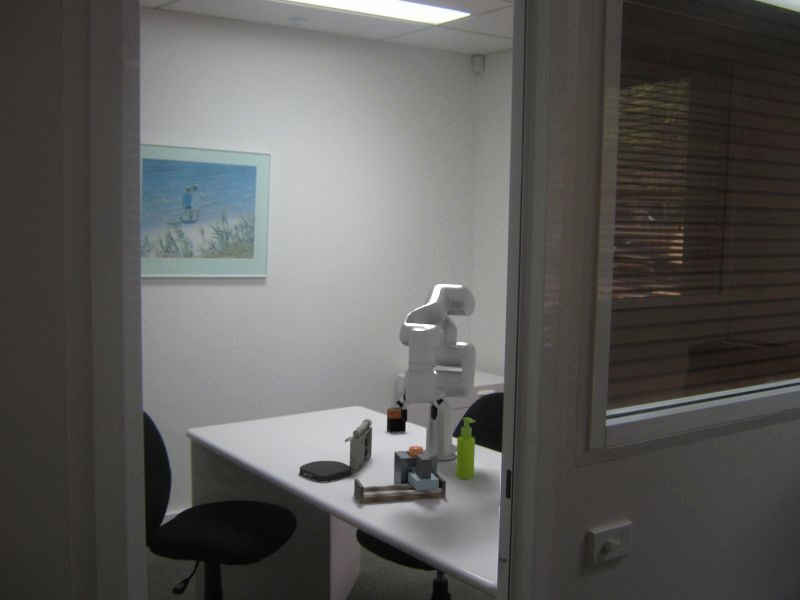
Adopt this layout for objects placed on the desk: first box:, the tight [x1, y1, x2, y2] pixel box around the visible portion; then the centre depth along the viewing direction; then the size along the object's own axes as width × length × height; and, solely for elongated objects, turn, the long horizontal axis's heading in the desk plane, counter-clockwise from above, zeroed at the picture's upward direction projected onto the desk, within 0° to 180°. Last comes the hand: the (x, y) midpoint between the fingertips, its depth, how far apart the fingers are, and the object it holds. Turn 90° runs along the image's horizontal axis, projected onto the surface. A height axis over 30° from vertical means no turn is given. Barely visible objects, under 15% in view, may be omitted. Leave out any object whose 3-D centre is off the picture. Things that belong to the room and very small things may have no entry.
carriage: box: [408, 454, 439, 491], centre depth 250 cm, size 7×9×9 cm
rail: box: [353, 473, 447, 504], centre depth 248 cm, size 27×8×5 cm, turn 106°
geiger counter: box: [344, 418, 373, 472], centre depth 284 cm, size 14×6×25 cm
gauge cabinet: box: [393, 449, 438, 485], centre depth 259 cm, size 12×8×10 cm
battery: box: [386, 405, 407, 433], centre depth 328 cm, size 4×7×10 cm, turn 116°
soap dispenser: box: [455, 416, 476, 480], centre depth 268 cm, size 6×7×20 cm
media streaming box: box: [299, 460, 353, 483], centre depth 269 cm, size 15×15×3 cm
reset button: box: [408, 445, 424, 457], centre depth 259 cm, size 4×4×4 cm
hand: (419, 420), depth 256 cm, fingers open, 9 cm apart
